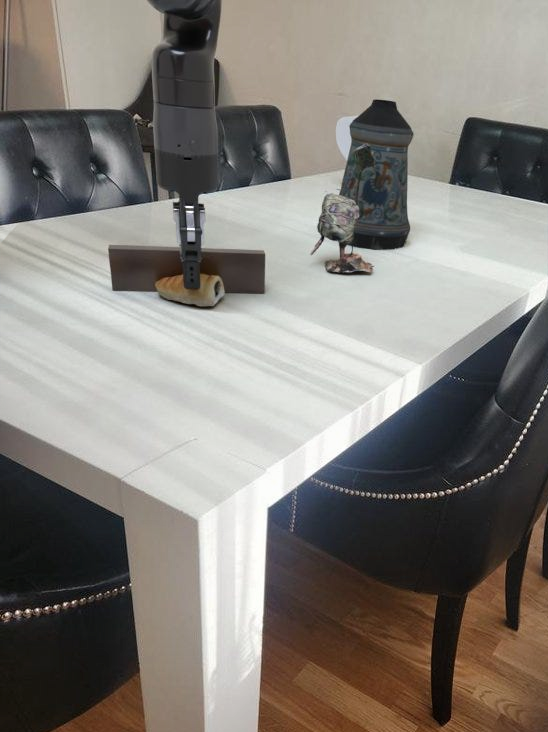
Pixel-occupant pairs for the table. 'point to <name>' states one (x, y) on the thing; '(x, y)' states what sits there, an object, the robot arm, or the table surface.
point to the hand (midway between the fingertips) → (192, 287)
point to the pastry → (204, 296)
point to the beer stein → (380, 177)
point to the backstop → (153, 263)
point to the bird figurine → (344, 220)
